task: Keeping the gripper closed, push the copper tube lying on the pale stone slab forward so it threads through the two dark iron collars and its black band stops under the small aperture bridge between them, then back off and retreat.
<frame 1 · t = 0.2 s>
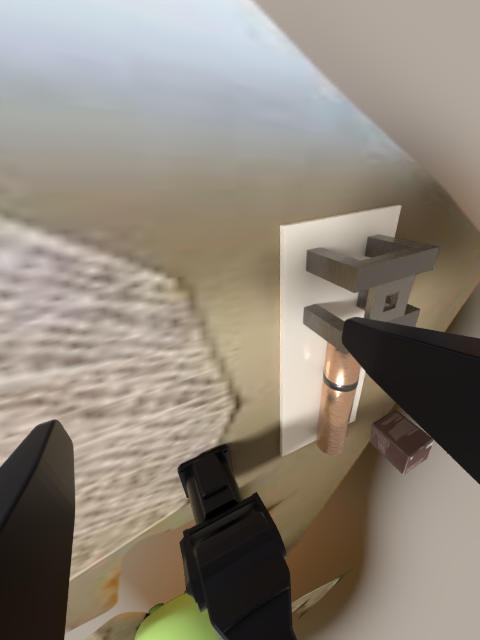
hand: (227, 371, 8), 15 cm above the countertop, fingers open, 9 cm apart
teapot: (181, 600, 48), on the countertop
tube: (326, 389, 36), point 1 cm above the countertop, touching slab
box: (381, 424, 51), on the countertop
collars: (336, 278, 28), resting on slab
slab: (327, 352, 33), on the countertop
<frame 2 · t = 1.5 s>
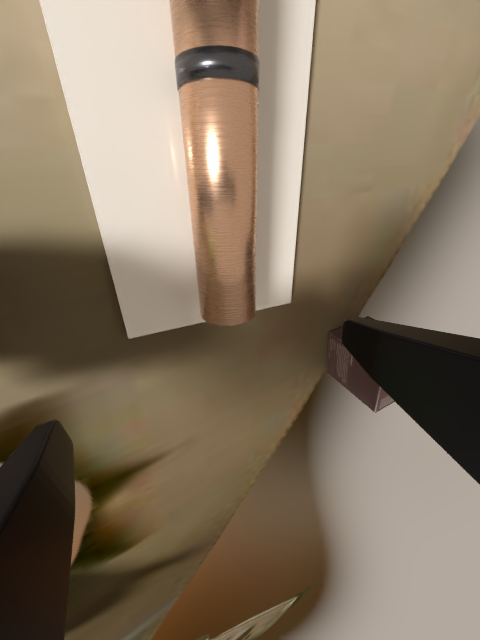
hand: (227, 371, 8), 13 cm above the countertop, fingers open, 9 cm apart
tube: (209, 171, 16), point 1 cm above the countertop, touching slab
box: (344, 342, 31), on the countertop
slab: (197, 43, 14), on the countertop
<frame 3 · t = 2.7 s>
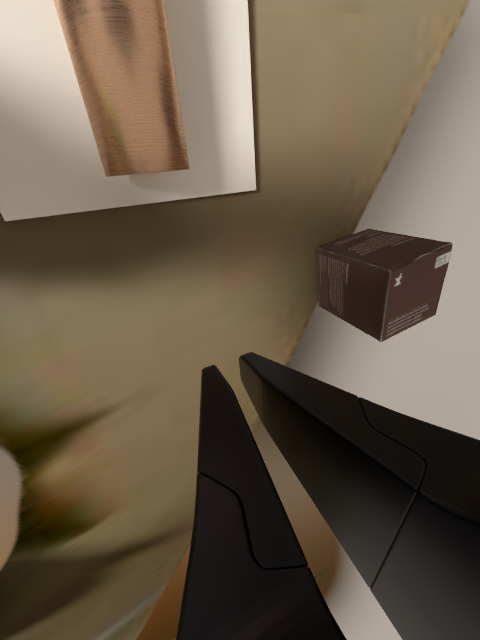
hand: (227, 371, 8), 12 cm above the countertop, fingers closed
box: (340, 267, 25), on the countertop
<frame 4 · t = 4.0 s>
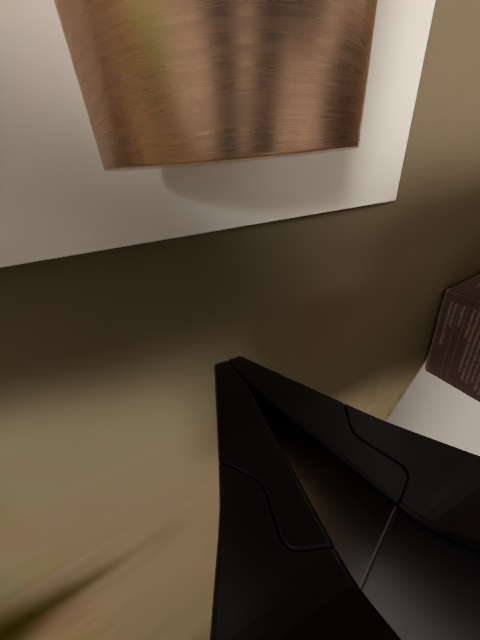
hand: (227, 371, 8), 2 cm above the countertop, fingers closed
box: (461, 313, 16), on the countertop
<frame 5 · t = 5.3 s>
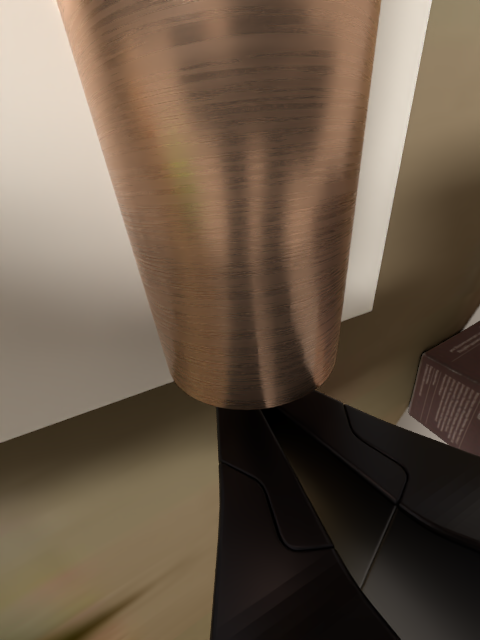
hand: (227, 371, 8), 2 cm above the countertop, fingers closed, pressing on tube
box: (439, 364, 18), on the countertop
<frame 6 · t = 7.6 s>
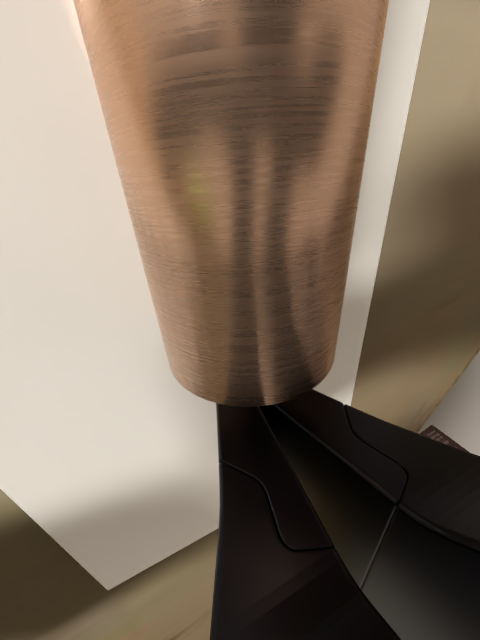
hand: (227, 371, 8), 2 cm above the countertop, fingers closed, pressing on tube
box: (400, 455, 24), on the countertop
slab: (180, 184, 7), on the countertop
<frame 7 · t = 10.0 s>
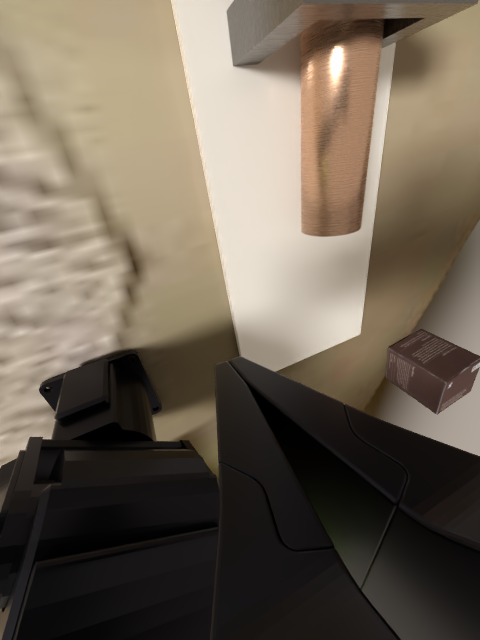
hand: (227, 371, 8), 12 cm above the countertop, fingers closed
tube: (309, 66, 15), point 1 cm above the countertop, tilted 13°, touching slab
box: (400, 352, 36), on the countertop
slab: (300, 178, 19), on the countertop
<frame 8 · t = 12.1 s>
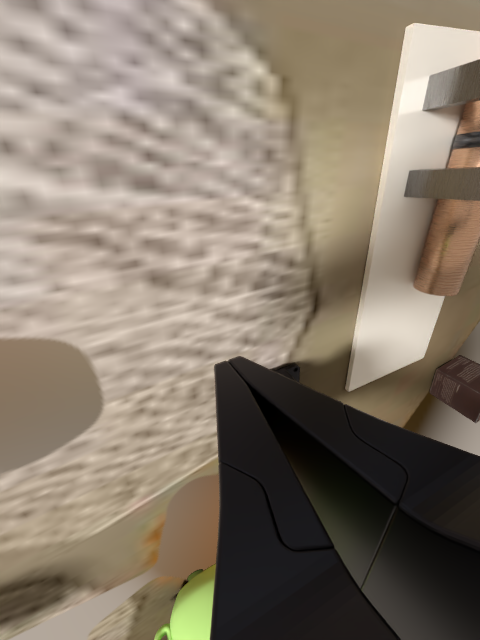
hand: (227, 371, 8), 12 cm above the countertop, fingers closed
teapot: (220, 568, 43), on the countertop
tube: (440, 193, 24), point 1 cm above the countertop, tilted 16°, touching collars, slab
box: (442, 372, 45), on the countertop
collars: (444, 140, 23), resting on slab
slab: (415, 253, 28), on the countertop
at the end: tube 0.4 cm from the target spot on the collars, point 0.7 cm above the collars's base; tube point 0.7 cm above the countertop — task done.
